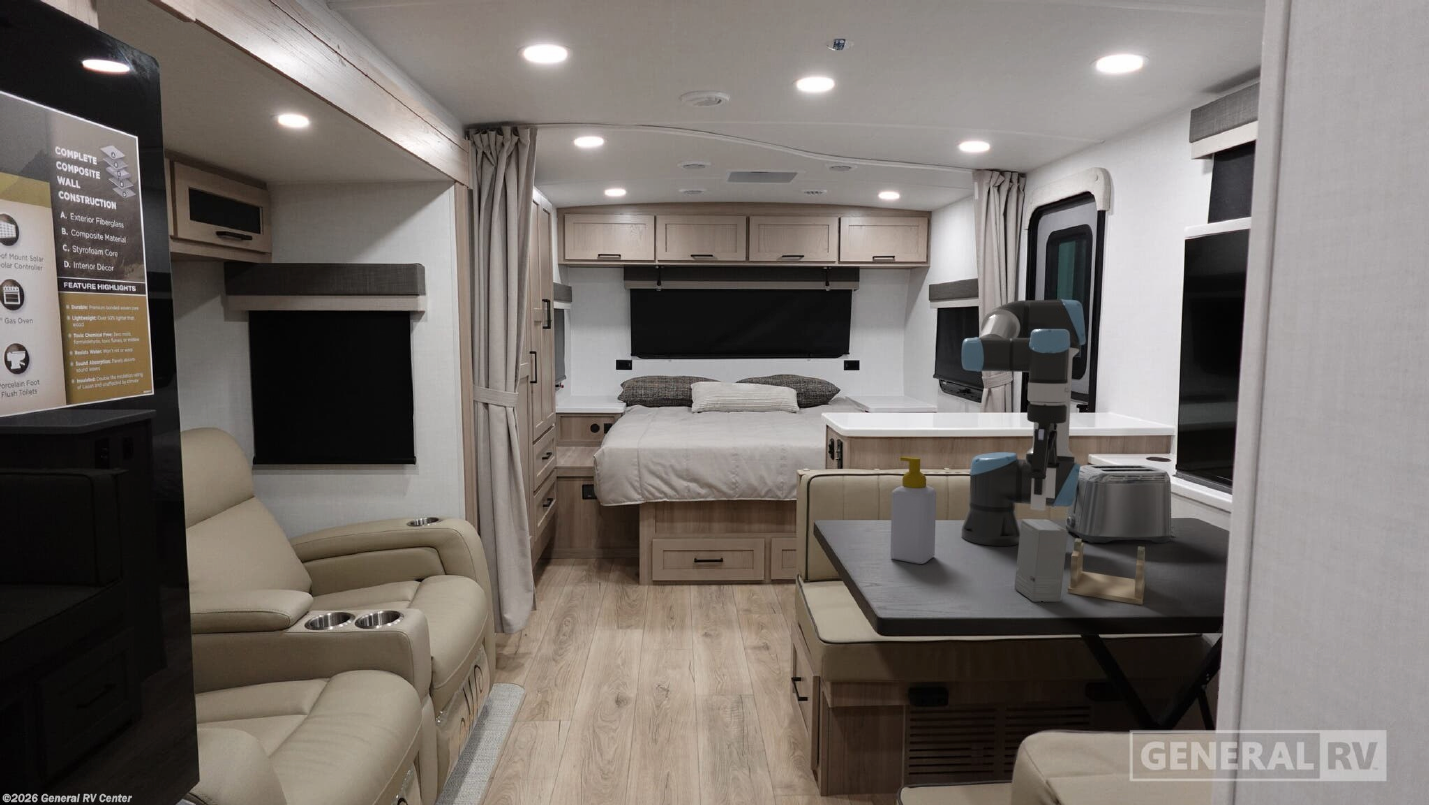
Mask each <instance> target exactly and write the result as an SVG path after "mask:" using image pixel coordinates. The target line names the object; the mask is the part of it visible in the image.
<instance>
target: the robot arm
mask: <svg viewBox="0 0 1429 805" xmlns="http://www.w3.org/2000/svg"><path fill="white" fill-rule="evenodd" d="M1084 318H1085V316H1084V310H1083V305H1082V303H1081V302H1080V301H1079V300H1077V299H1076V300H1074V299H1064V298H1061V299H1041V300H1040V299H1038V300H1034V299H1033V300H1023V299H1022V300H1015V301H1010V302H1007V303H1004V304H1002V305H999V306H998V307H996V308H995V307H994V308H993V309H992V310H991V311H989V312H988V313H987V314H986V315H985V317H983V320H982V322H981V326H980V329H981V330H980V331H981V333H980V334H979V336H978V337H977V336H974V337H967V338H964V340H963V341H962V344H961V365H962V366H961V367H962V369H963V370H965V371H974V372H978V373H979V372H1010V373H1011V372H1013V373H1014V372H1017V373H1018V372H1019V373H1029V374H1028V376H1029V377H1028V383H1027V400H1028V402H1030V403H1028V404H1027V407H1026V408H1027V411H1026V419H1027V421H1028V422H1031V423H1033V433H1032V434H1033V435H1032V446H1031V448H1030V449H1028V451H1027V452H1026V453H1025V456H1026V457H1025V459H1020V458H1019V457H1018V455H1017V453H1015V452H1005V451H1003V452H1001V451H1000V452H999V451H998V452H990V453H983V454H982V453H981V454H979V455H975V456H974V457H973V458H972V459H971V462H970V471H969V476H970V477H969V480H970V481H969V498H968V499H969V502H968V506H969V507H968V511H967V513H966V517H965V519H964V521H963V525H962V526H961V527H962V528H961V538H963V539H964V540H966V541H967V542H971V543H974V544H978V545H985V546H991V547H993V546H994V547H1009V546H1014V545H1015V546H1016V545H1019V539H1020V530H1021V527H1020V525H1019V521H1018V518H1017V515H1016V504H1024V505H1030V510H1031V511H1033V510H1034V511H1040V512H1042V511H1043V512H1045V511H1046V507H1052V508H1054V507H1061V508H1064V507H1065V508H1068V506H1070V505H1072V503H1073V501H1074V498H1075V493H1076V488H1077V483H1078V477H1079V471H1080V467H1081V464H1080V463H1079V462H1075V454H1073V452H1071V450H1070V448H1069V447H1070V446H1069V445H1070V444H1069V442H1070V441H1069V440H1070V420H1071V401H1072V400H1071V397H1072V396H1071V395H1072V377H1073V376H1072V375H1073V374H1072V373H1073V372H1072V371H1073V358H1074V357H1075V356H1076V355H1077V354H1078V353H1079V352H1080V346H1083V345H1085V344H1086V342H1087V340H1086V328H1085V326H1086V325H1085V320H1084Z"/></svg>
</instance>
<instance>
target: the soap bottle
mask: <svg viewBox="0 0 1429 805" xmlns="http://www.w3.org/2000/svg"><path fill="white" fill-rule="evenodd" d="M899 460H900V461H903V462H908V471H907V472H905V473H904V474H903V476H902V481H901V482H902V483H901V484H902V485H900V486H898V487H896V488H894V489H893V490H892V492H891V506H890V507H891V512H890V513H891V515H890V556H889V557H890V558H891V559H893V560H897V561H902V562H908V563H913V564H918V565H919V564H920V565H921V564H922V565H923V564H925V563H927V562H928V561H929V560H931V559H932V558H934V557H935V553H936V522H937V521H936V518H937V516H936V514H937V491H936V490H935V488H933V487H931V486H929V485H927V477H926V475H925V474H924V473H923V472H922V471H921V458H920V457H915V456H900V458H899Z"/></svg>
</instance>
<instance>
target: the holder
mask: <svg viewBox="0 0 1429 805" xmlns="http://www.w3.org/2000/svg"><path fill="white" fill-rule="evenodd" d="M1082 541H1083V540H1082V539H1081V538H1078V537H1076V538H1075V539H1074V544H1073V551H1072V554H1071V556H1070V557H1071V559H1070V577H1069V578H1070V579H1069V580H1070V582H1069V584H1068V586H1067V587H1068V588H1067V593H1068V594H1074V595H1079V596H1085V597H1091V598H1092V597H1093V598H1097V599H1098V598H1099V599H1103V600H1104V599H1105V600H1111V601H1116V602H1123V603H1128V604H1135V605H1140V606H1142V605H1143V602H1144V601H1143V600H1144V595H1145V587H1146V581H1145V580H1144V577H1145V562H1146V561H1145V560H1146V559H1145V557H1146V548H1145V547H1146V546H1137V557H1136V565H1135V578H1127V577H1121V576H1117V575H1116V576H1115V575H1109V574H1102V573H1096V572H1091V571H1090V572H1089V571H1083V566H1084V565H1083V561H1084V545H1085V544H1084V542H1082Z"/></svg>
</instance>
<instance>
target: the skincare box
mask: <svg viewBox="0 0 1429 805" xmlns="http://www.w3.org/2000/svg"><path fill="white" fill-rule="evenodd" d="M1068 535H1069V532H1068V531H1067V530H1066V528H1064V527H1062V526H1061V525H1060V524H1057V523H1055V522H1054V521H1051V520H1049V519H1040V518H1039V519H1036V518H1035V519H1034V518H1022V519H1021V520H1020V539H1019V544H1018V551H1017V558H1016V559H1017V560H1016V570H1015V578H1014V590H1015V591H1017V592H1019V593H1020V594H1021V595H1023V596H1024V597H1026V598H1027V599H1029V600H1030V601H1032V603H1033V602H1034V603H1035V602H1037V603H1038V602H1039V603H1040V602H1041V601H1043V602H1061V598H1062V589H1063V588H1062V587H1063V581H1064V571H1065V560H1066V553H1067V552H1066V551H1067V543H1068Z"/></svg>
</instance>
